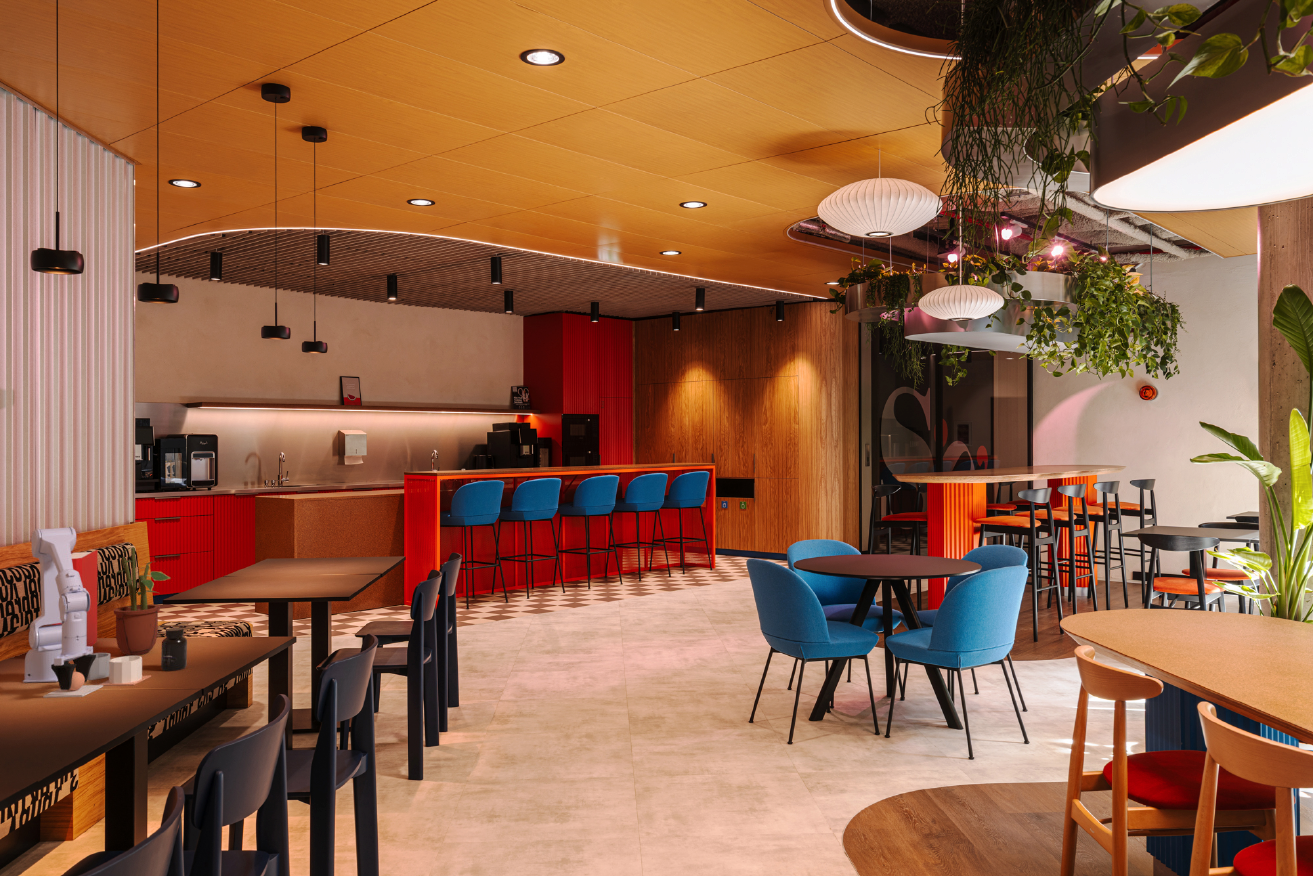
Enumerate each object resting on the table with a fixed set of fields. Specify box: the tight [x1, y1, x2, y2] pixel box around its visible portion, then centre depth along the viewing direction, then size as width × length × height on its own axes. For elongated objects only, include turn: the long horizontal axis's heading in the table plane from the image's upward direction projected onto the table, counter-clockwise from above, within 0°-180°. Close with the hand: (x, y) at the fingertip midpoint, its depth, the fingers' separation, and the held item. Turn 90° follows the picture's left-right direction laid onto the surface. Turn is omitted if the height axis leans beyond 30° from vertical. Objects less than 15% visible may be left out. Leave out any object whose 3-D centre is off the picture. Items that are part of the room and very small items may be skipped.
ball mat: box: [43, 684, 104, 699], centre depth 241 cm, size 10×10×1 cm
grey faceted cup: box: [87, 652, 111, 681], centre depth 258 cm, size 8×8×6 cm
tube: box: [99, 655, 152, 687], centre depth 252 cm, size 10×10×6 cm
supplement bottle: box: [160, 627, 188, 672], centre depth 267 cm, size 7×7×12 cm
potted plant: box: [111, 546, 171, 656], centre depth 290 cm, size 17×16×35 cm
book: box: [51, 549, 98, 647], centre depth 292 cm, size 27×8×32 cm, turn 23°
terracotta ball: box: [69, 671, 86, 691], centre depth 241 cm, size 5×5×5 cm
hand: (73, 685), depth 241 cm, fingers open, 7 cm apart
